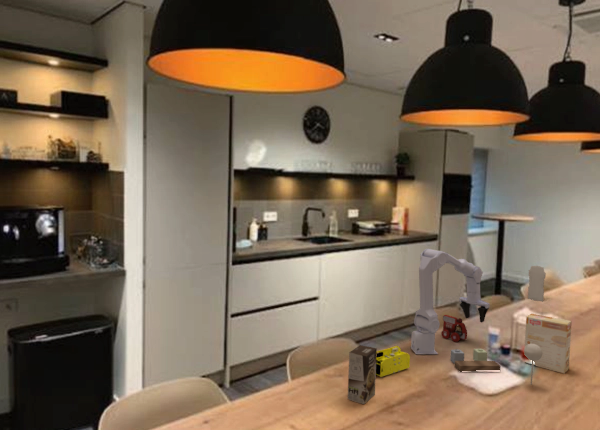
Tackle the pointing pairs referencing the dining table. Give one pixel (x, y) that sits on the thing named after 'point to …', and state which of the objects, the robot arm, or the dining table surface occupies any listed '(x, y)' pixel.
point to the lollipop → (533, 354)
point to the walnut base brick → (476, 365)
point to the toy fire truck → (453, 328)
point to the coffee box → (362, 374)
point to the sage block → (479, 355)
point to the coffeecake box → (550, 341)
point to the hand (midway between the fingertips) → (474, 319)
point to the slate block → (456, 355)
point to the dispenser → (536, 283)
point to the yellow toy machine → (391, 361)
